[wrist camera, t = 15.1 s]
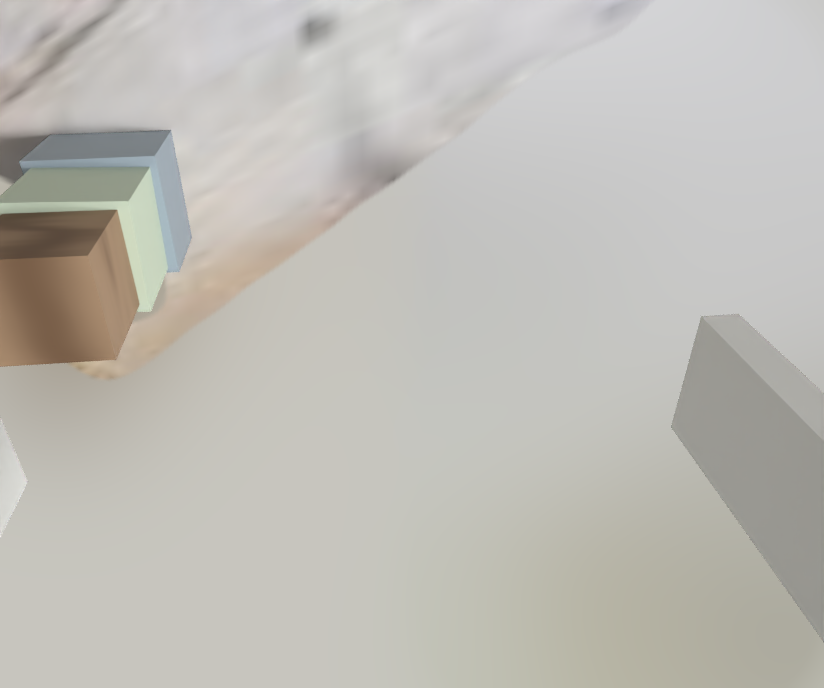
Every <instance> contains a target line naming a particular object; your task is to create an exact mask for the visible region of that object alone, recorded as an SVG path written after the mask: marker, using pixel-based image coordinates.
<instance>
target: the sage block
mask: <svg viewBox="0 0 824 688" xmlns="http://www.w3.org/2000/svg"><path fill="white" fill-rule="evenodd" d="M94 210H118V215H119V219H120V223H121V227H122V232H123V236H124V240H125V244H126V248H127V253H128V257H129V261H130V265H131V270H132V274H133V278H134V282H135V286H136V291H137V295H138V299H139V303H140V305H139V307H138V310H137V312H150V311H151V310H152V307H153V305H154V302H155V299H156V297H157V295H158V292H159V290H160V287H161V285H162V282H163V280H164V277H165V275H166V272H167V270H168V264H167V259H166V253H165V248H164V242H163V237H162V231H161V225H160V220H159V214H158V209H157V203H156V197H155V192H154V186H153V181H152V175H151V170H150V167H69V168H30V169H29V170H28V171H27V172H26V173H25V174H24V175H23V176H22V177H21V178H19V179H18V180H17V181H16V182H15V183H14V184H13V185H12V186H11V187H10V188H9V189H7V190H6V191H5V192H4V193H3V194H2V195H1V196H0V215H1V214H9V213H37V212H65V211H94Z"/></svg>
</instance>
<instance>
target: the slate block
mask: <svg viewBox="0 0 824 688" xmlns="http://www.w3.org/2000/svg"><path fill="white" fill-rule="evenodd" d="M19 163H20V166H21V169H22V172H23V175H24V174H25V173H26V172H27V171H28V170H29V169H30V168H69V167H150V170H151V175H152V181H153V186H154V192H155V197H156V203H157V209H158V214H159V220H160V225H161V231H162V237H163V242H164V248H165V253H166V259H167V264H168V270H167V272H179V271H180V268H181V266H182V263H183V260H184V257H185V255H186V252H187V249H188V246H189V244H190V241H191V238H192V236H191V230H190V225H189V220H188V215H187V210H186V205H185V200H184V194H183V189H182V184H181V179H180V174H179V169H178V164H177V158H176V153H175V148H174V143H173V138H172V133H171V130H168V131H141V132H114V133H86V134H59V135H49V136H48V137H47V138H46V139H45V140H44V141H42V142H41V143H40V144H39V145H38V146H37V147H35V148H34V149H33V150H32V151H31V152H30V153H28V154H27V155H26V156H25V157H24V158H22V159H21V160H20V161H19Z"/></svg>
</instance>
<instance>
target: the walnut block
mask: <svg viewBox="0 0 824 688" xmlns="http://www.w3.org/2000/svg"><path fill="white" fill-rule="evenodd" d="M139 305H140V303H139V299H138V295H137V291H136V286H135V282H134V278H133V274H132V270H131V265H130V261H129V257H128V253H127V248H126V244H125V240H124V236H123V232H122V227H121V223H120V219H119V215H118V210H94V211H65V212H37V213H9V214H1V215H0V367H1V366H2V367H3V366H19V365H34V364H52V363H68V362H85V361H101V360H116V359H117V356H118V354H119V352H120V349H121V347H122V345H123V342H124V340H125V338H126V335H127V333H128V331H129V328H130V326H131V324H132V321H133V319H134V316H135V314H136V312H137V310H138V307H139Z"/></svg>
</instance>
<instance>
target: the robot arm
mask: <svg viewBox="0 0 824 688" xmlns="http://www.w3.org/2000/svg"><path fill="white" fill-rule="evenodd" d="M671 428H672V429H673V431H674V432H675V433H676V435H677V436H678V438H679V439H680V440H681V442H682V443H683V445H684V446H685V448H686V449H687V450H688V452H689V453H690V455H691V456H692V457H693V459H694V460H695V461H696V463H697V464H698V466H699V467H700V469H701V470H702V471H703V473H704V474H705V476H706V477H707V478H708V480H709V481H710V483H711V484H712V486H713V487H714V488H715V490H716V491H717V492H718V494H719V495H720V497H721V498H722V500H723V501H724V502H725V504H726V505H727V507H728V508H729V509H730V511H731V512H732V514H733V515H734V517H735V518H736V519H737V521H738V522H739V523H740V525H741V526H742V528H743V529H744V531H745V532H746V533H747V535H748V536H749V538H750V539H751V540H752V542H753V543H754V545H755V546H756V548H757V549H758V550H759V552H760V553H761V554H762V556H763V557H764V559H765V560H766V562H767V563H768V564H769V566H770V567H771V568H772V570H773V571H774V573H775V574H776V576H777V577H778V579H779V580H780V581H781V583H782V584H783V586H784V587H785V588H786V590H787V591H788V593H789V594H790V595H791V596H792V598H793V600H794V601H795V603H796V604H797V605H798V607H799V608H800V610H801V611H802V612H803V614H804V615H805V616H806V618H807V619H808V621H809V622H810V624H811V625H812V626H813V628H814V629H815V630H816V632H817V634H818V635H819V636H820V638H821V639H822V640H823V642H824V393H823V392H822V391H821V390H820V389H819V388H818V387H816V385H815V384H814V383H812V382H811V381H810V380H809V379H808V378H807V377H806V376H805V375H804V374H803V373H802V372H800V370H798V369H797V368H796V367H795V366H794V365H793V364H792V363H791V362H790V361H789V360H788V359H786V358H785V357H784V356H783V355H782V354H781V353H780V352H779V351H778V350H777V349H776V348H774V346H772V345H771V344H770V343H769V342H768V341H767V340H766V339H765V338H764V337H763V336H762V335H761V334H760V333H758V332H757V331H756V330H755V329H754V328H753V327H752V326H751V325H750V324H749V323H748V322H747V321H745V320H744V319H743V318H742V317H741V316H740V315H739V314H731V315H715V316H702V317H701V319H700V323H699V327H698V330H697V334H696V338H695V341H694V345H693V349H692V352H691V356H690V359H689V363H688V367H687V371H686V374H685V378H684V381H683V385H682V389H681V392H680V396H679V400H678V403H677V407H676V411H675V414H674V418H673V422H672V425H671ZM27 483H28V481H27V479H26V477H25V474H24V472H23V469H22V467H21V464H20V462H19V460H18V457H17V455H16V453H15V450H14V448H13V445H12V443H11V441H10V438H9V436H8V433H7V431H6V429H5V427H4V424H3V421H2V419H1V417H0V537H1V535H2V533H3V531H4V529H5V527H6V525H7V523H8V521H9V519H10V517H11V515H12V513H13V511H14V509H15V507H16V505H17V503H18V501H19V499H20V497H21V495H22V493H23V491H24V489H25V487H26V485H27Z"/></svg>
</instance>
